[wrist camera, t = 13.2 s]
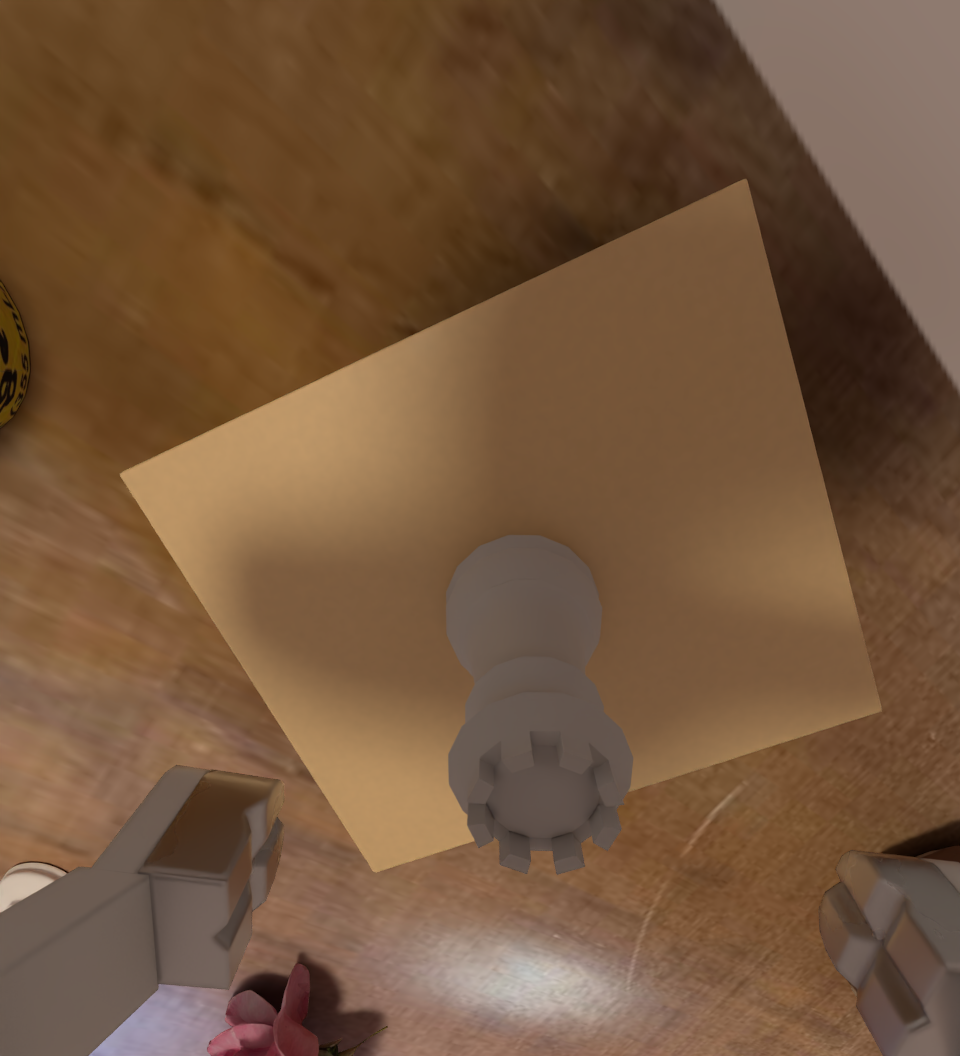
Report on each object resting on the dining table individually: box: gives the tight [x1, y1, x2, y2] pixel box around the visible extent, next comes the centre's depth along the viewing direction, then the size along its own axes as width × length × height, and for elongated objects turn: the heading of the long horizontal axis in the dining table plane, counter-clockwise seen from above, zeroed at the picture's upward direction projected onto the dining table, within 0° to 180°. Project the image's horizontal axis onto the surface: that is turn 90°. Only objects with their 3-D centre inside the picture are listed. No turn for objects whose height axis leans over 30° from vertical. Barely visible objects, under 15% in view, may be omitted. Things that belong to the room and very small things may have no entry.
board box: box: [120, 179, 882, 873], centre depth 21 cm, size 18×16×9 cm
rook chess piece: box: [446, 535, 633, 875], centre depth 13 cm, size 4×4×8 cm
